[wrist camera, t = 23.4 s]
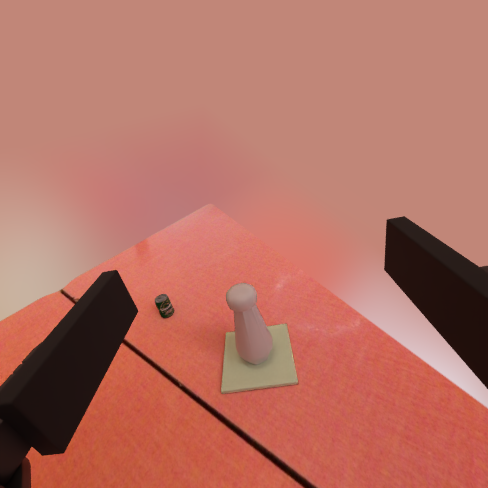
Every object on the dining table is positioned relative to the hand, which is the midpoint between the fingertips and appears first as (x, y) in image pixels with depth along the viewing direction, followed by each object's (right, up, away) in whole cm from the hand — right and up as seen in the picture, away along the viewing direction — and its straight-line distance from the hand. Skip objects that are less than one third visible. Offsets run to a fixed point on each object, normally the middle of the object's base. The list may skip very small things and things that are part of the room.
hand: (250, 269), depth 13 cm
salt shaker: (+2, -16, +29) cm, 33 cm away
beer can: (-17, -14, +43) cm, 48 cm away
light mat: (+2, -17, +29) cm, 33 cm away
